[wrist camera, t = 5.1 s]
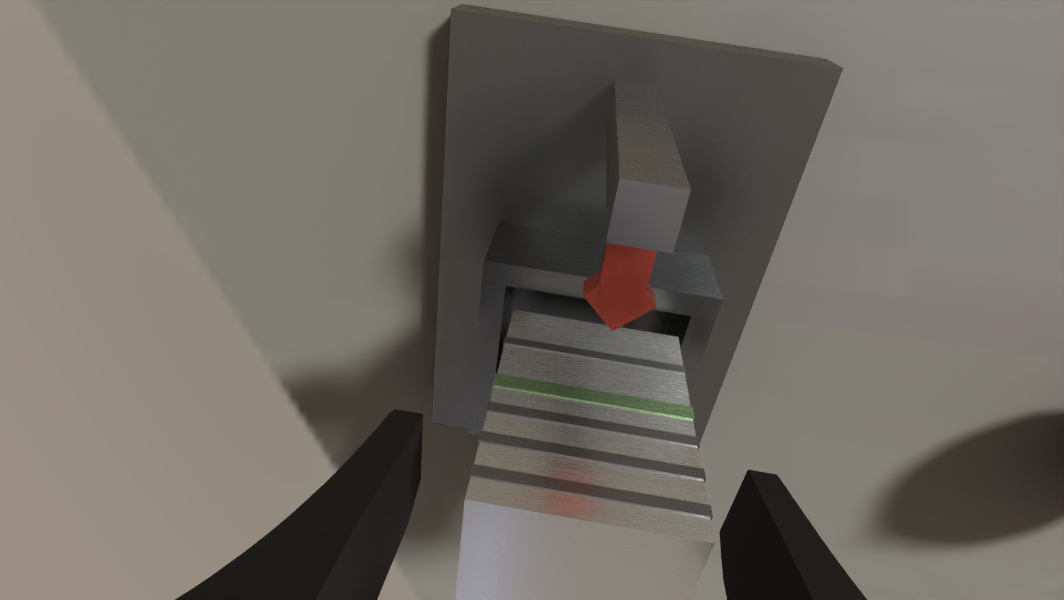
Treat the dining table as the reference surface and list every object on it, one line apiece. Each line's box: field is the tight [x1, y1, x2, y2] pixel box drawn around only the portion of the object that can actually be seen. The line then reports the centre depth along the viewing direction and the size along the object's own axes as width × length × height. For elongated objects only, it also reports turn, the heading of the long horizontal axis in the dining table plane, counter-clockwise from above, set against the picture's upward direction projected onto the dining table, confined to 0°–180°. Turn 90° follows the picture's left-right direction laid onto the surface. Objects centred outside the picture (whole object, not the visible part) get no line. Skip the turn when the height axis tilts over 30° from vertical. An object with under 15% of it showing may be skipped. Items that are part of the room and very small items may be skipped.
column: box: [455, 310, 715, 600], centre depth 13 cm, size 4×4×6 cm
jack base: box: [432, 4, 843, 443], centre depth 14 cm, size 13×9×8 cm
